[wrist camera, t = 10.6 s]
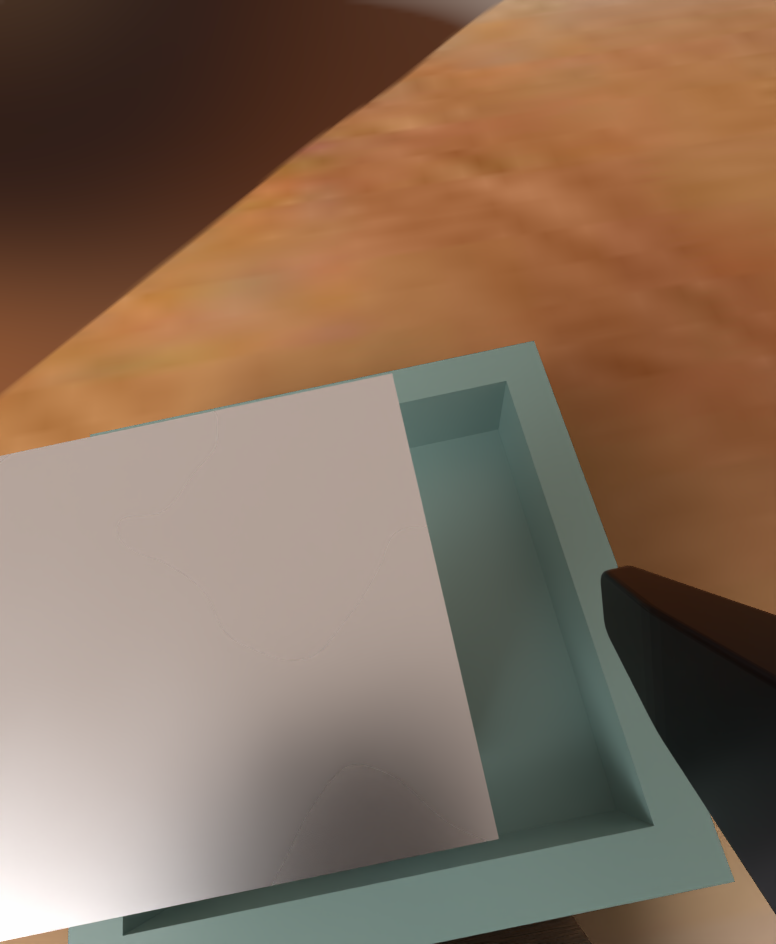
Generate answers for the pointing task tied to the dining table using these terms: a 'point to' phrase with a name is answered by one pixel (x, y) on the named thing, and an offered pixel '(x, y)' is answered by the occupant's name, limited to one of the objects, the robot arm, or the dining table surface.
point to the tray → (500, 700)
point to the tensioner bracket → (531, 934)
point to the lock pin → (224, 661)
